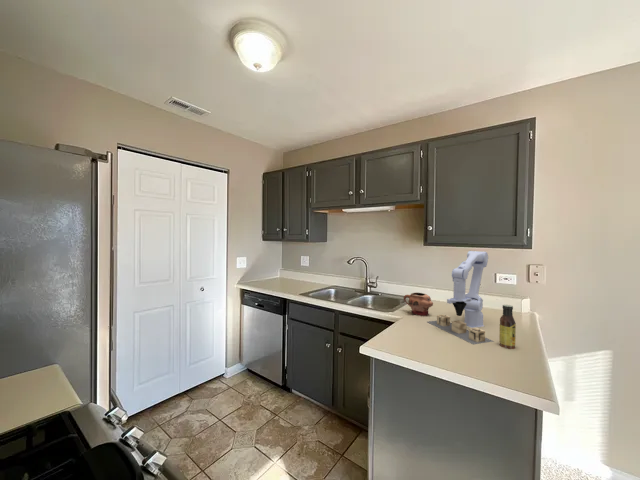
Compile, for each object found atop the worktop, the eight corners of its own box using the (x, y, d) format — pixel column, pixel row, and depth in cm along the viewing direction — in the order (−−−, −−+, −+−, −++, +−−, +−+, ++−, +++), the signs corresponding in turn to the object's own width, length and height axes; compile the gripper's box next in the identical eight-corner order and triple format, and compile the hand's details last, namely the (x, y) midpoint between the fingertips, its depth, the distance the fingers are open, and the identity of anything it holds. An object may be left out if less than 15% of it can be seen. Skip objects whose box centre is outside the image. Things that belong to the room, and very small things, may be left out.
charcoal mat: (443, 320, 165) (443, 319, 165) (494, 342, 132) (494, 341, 132) (426, 322, 161) (426, 321, 161) (473, 345, 129) (473, 344, 129)
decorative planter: (399, 313, 180) (399, 292, 179) (406, 309, 189) (406, 289, 189) (430, 319, 167) (430, 297, 167) (435, 314, 177) (436, 293, 176)
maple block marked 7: (476, 337, 137) (476, 327, 137) (485, 341, 133) (485, 330, 132) (468, 338, 136) (468, 328, 136) (477, 342, 131) (477, 332, 131)
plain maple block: (458, 329, 148) (459, 320, 148) (466, 332, 144) (466, 323, 143) (451, 330, 147) (451, 321, 147) (458, 333, 142) (458, 324, 142)
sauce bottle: (515, 351, 122) (516, 308, 122) (499, 348, 126) (500, 306, 125) (514, 346, 128) (515, 305, 127) (499, 343, 131) (499, 303, 131)
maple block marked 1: (443, 322, 159) (443, 314, 159) (450, 325, 155) (450, 316, 154) (436, 323, 158) (436, 314, 158) (442, 326, 153) (443, 317, 153)
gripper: (454, 293, 139) (453, 319, 139) (476, 291, 143) (475, 316, 143) (444, 290, 145) (443, 315, 146) (465, 288, 150) (465, 312, 150)
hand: (459, 315), depth 145 cm, fingers closed
